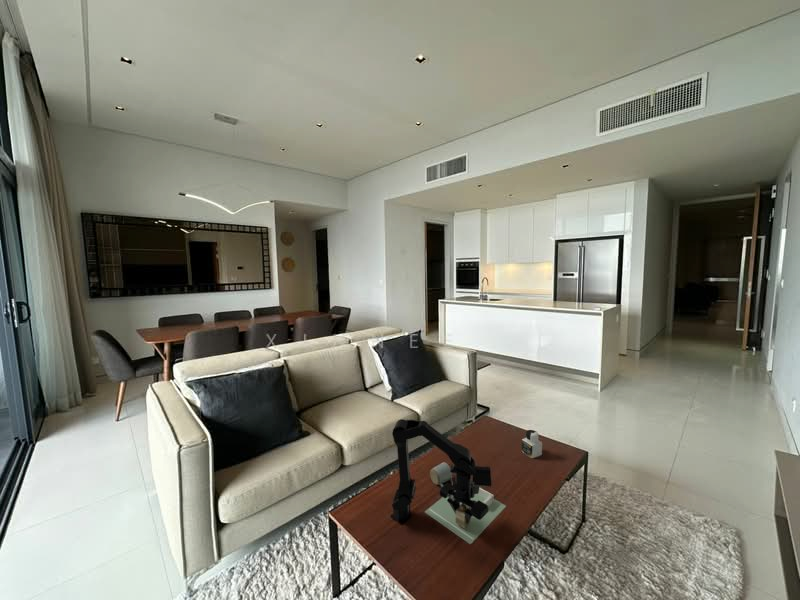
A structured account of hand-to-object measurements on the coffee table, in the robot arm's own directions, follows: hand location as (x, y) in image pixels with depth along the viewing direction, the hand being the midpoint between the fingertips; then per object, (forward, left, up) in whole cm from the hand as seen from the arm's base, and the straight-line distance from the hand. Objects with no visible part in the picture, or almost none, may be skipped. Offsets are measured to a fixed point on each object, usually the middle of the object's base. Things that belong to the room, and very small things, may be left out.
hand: (463, 520), depth 126 cm
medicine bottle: (+65, +2, -3) cm, 65 cm away
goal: (+16, +4, -2) cm, 16 cm away
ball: (+8, +4, 0) cm, 9 cm away
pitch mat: (+8, +4, -2) cm, 9 cm away
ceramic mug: (+14, +21, -3) cm, 25 cm away
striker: (0, 0, -1) cm, 1 cm away
